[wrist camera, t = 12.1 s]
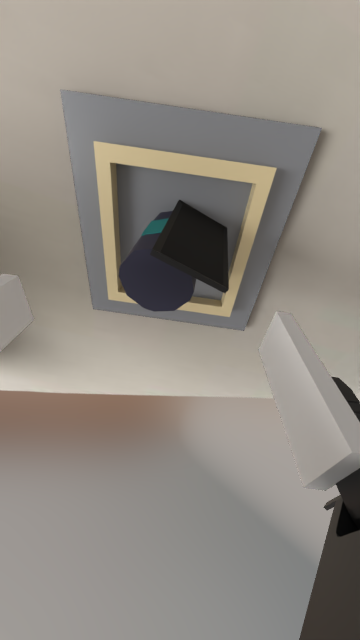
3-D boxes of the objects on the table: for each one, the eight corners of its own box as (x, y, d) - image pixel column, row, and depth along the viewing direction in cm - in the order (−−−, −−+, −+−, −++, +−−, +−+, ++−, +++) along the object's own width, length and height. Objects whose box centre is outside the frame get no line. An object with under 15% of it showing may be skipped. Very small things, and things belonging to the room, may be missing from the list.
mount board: (96, 304, 29) (88, 315, 27) (67, 93, 17) (48, 83, 15) (243, 326, 29) (245, 338, 27) (316, 129, 17) (331, 125, 15)
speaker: (189, 176, 18) (171, 211, 11) (228, 228, 21) (235, 287, 13) (135, 234, 22) (94, 290, 15) (173, 272, 25) (154, 337, 17)
